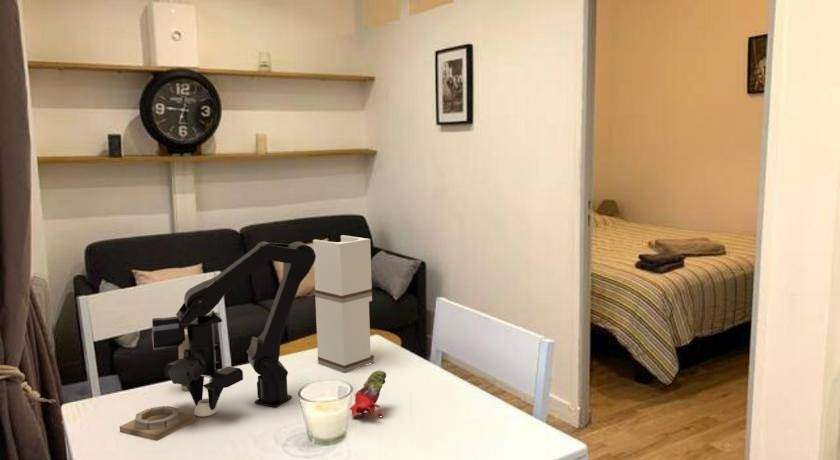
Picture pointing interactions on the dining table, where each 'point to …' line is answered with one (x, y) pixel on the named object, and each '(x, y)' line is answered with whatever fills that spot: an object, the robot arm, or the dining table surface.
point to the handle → (181, 353)
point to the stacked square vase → (343, 302)
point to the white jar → (204, 408)
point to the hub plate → (158, 431)
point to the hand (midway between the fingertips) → (205, 408)
